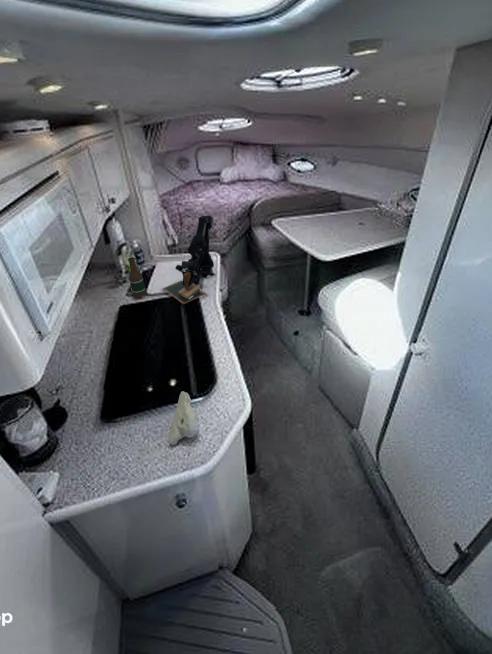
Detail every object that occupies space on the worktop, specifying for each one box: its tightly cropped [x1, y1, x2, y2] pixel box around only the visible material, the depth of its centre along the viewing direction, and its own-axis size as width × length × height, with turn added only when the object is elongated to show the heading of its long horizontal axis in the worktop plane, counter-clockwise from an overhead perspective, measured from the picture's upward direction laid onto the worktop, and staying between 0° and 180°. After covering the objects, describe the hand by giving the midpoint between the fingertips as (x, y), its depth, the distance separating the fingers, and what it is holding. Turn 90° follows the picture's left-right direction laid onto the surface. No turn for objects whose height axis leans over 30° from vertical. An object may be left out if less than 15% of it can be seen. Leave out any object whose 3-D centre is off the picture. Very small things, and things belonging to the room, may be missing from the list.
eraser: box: [178, 272, 200, 300], centre depth 186 cm, size 6×11×13 cm, turn 148°
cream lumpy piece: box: [168, 390, 200, 446], centre depth 113 cm, size 15×7×15 cm
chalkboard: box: [161, 280, 207, 305], centre depth 194 cm, size 24×15×1 cm, turn 41°
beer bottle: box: [127, 257, 147, 300], centre depth 188 cm, size 8×8×24 cm
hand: (185, 285), depth 185 cm, fingers closed on eraser, 3 cm apart
